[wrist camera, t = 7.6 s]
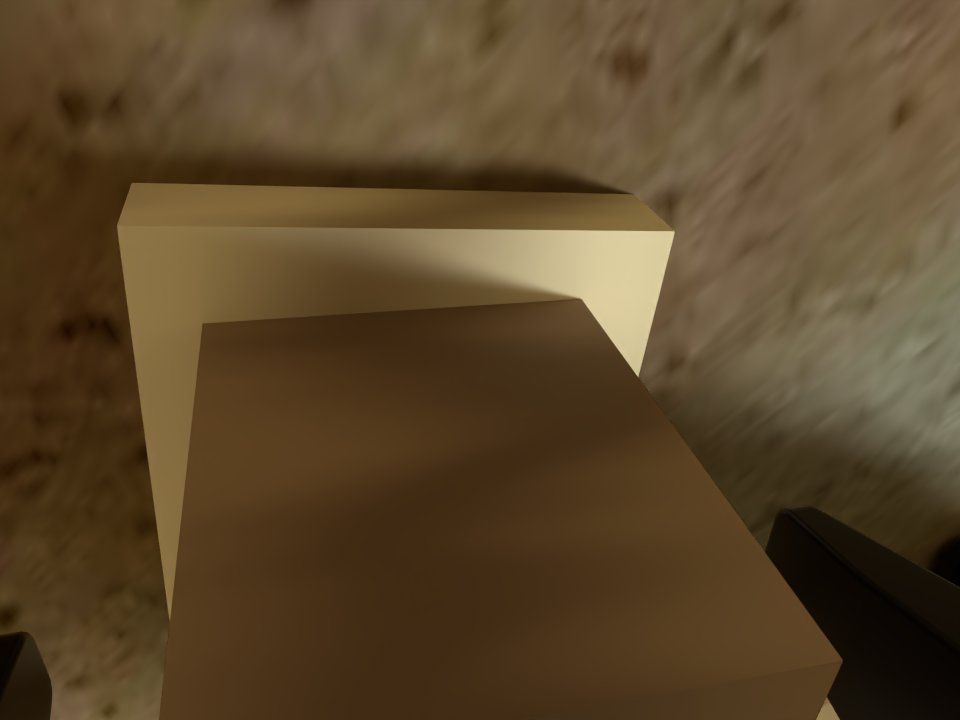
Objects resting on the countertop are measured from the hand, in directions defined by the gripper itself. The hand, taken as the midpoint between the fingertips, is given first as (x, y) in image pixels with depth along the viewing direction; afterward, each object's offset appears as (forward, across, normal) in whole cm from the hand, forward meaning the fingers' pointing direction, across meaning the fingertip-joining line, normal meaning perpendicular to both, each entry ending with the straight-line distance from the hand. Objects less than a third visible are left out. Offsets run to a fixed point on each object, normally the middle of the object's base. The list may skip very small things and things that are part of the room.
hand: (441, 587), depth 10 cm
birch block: (+5, 0, 0) cm, 5 cm away
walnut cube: (+3, 0, 0) cm, 3 cm away
